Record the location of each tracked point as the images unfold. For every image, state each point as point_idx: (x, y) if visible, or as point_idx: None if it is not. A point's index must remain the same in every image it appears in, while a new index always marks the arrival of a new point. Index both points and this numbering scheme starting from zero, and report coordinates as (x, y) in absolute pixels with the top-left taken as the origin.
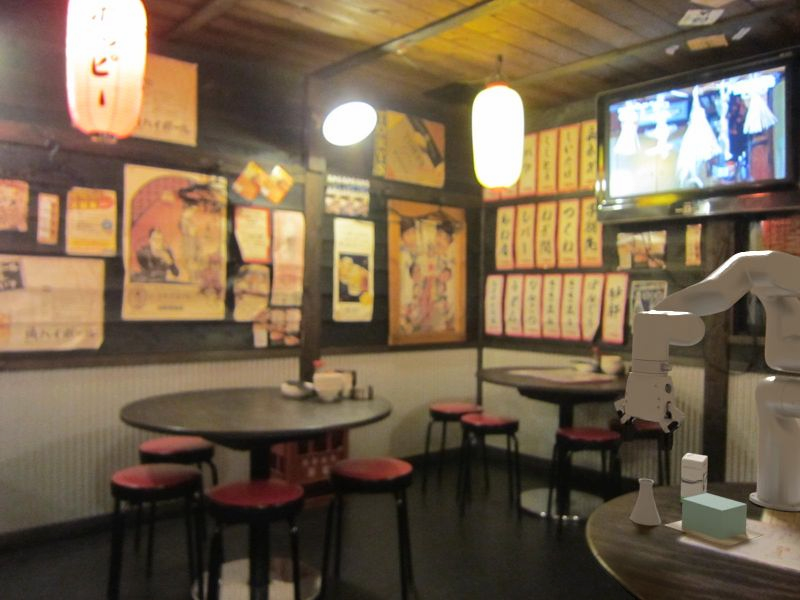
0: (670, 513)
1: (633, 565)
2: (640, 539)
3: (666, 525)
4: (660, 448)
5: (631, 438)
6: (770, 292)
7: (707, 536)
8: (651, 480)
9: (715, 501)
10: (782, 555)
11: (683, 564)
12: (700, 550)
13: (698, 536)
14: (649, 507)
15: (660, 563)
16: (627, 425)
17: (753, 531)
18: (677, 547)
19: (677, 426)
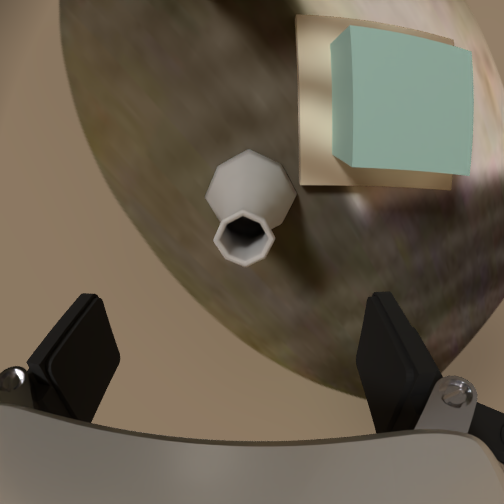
0: (213, 44)
1: None
2: (306, 279)
3: (306, 183)
4: (357, 366)
5: (102, 327)
6: None
7: None
8: (251, 218)
9: (422, 100)
10: (497, 107)
11: (416, 307)
12: (411, 222)
13: (393, 184)
14: (273, 224)
15: None
16: (82, 420)
17: (434, 37)
18: (376, 249)
19: (496, 425)
